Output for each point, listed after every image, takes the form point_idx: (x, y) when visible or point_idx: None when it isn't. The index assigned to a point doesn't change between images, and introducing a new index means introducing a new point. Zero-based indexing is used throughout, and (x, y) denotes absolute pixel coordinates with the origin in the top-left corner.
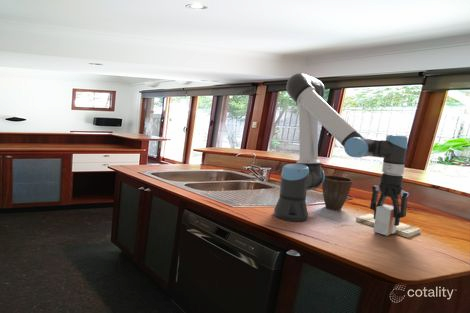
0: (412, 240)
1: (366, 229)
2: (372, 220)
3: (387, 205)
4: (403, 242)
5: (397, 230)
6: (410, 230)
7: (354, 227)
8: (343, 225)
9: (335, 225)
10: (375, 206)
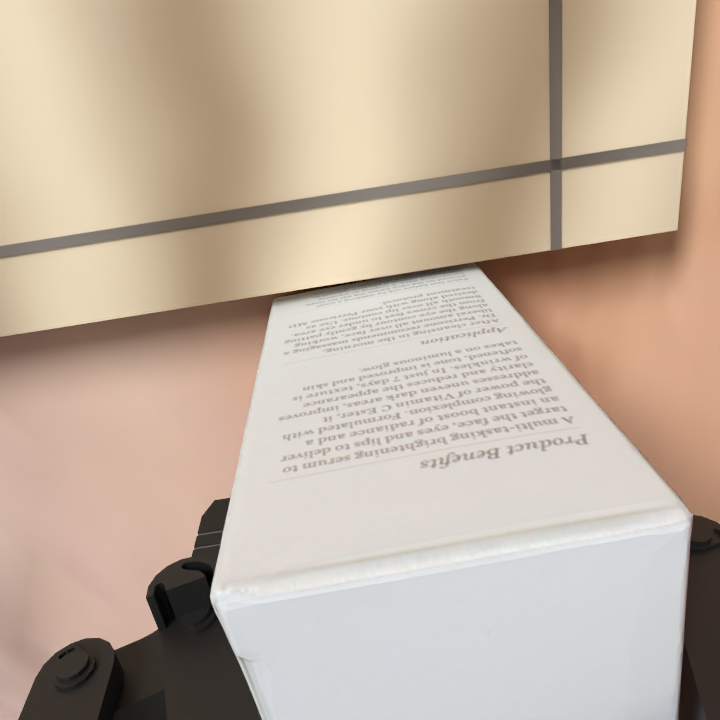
0: (712, 246)
1: (208, 493)
2: (10, 250)
3: (359, 652)
4: (664, 428)
5: (507, 255)
6: (643, 12)
7: (114, 575)
8: (28, 641)
9: (18, 712)
10: (112, 709)
